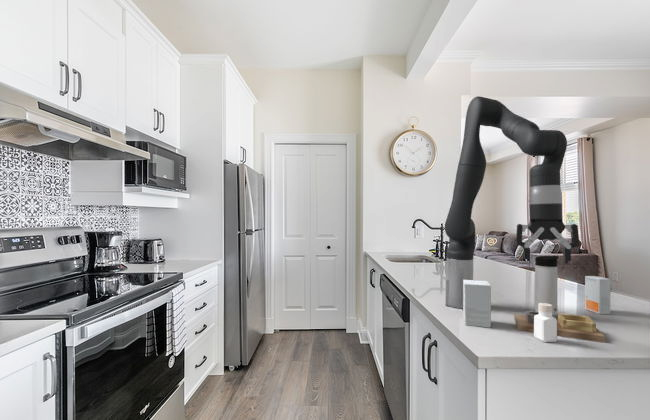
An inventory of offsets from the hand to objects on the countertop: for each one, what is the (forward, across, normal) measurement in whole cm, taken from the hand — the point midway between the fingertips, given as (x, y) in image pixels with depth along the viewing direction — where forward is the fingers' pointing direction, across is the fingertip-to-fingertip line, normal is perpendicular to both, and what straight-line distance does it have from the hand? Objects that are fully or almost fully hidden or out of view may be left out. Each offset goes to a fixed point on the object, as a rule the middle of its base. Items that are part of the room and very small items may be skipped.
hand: (546, 262), depth 91 cm
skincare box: (+21, +20, +39) cm, 48 cm away
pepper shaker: (+21, -1, -1) cm, 21 cm away
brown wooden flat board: (+21, +3, +10) cm, 23 cm away
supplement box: (+20, -18, +6) cm, 28 cm away
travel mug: (+21, +3, +25) cm, 32 cm away
